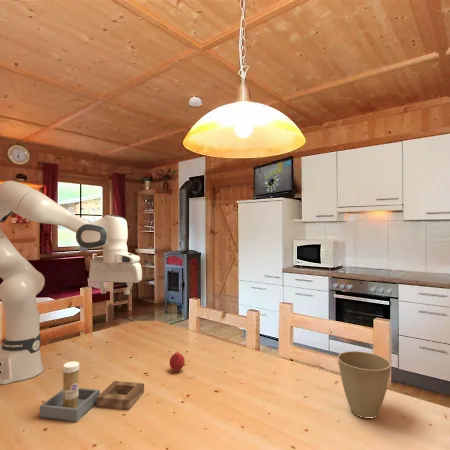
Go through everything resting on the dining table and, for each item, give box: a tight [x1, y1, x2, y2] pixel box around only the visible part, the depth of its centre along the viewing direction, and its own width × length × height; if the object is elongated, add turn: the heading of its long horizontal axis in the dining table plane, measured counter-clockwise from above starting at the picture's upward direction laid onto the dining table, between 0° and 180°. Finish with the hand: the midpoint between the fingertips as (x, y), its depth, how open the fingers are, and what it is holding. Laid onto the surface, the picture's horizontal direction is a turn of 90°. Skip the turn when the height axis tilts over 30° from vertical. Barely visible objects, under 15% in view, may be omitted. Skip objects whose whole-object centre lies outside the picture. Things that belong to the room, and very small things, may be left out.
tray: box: [39, 387, 101, 423], centre depth 100 cm, size 12×12×4 cm
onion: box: [169, 350, 186, 373], centre depth 127 cm, size 6×6×8 cm
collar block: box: [95, 380, 145, 411], centre depth 106 cm, size 11×11×3 cm
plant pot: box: [337, 350, 392, 417], centre depth 99 cm, size 15×15×16 cm
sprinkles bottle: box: [62, 360, 80, 408], centre depth 100 cm, size 5×5×13 cm
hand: (115, 293), depth 123 cm, fingers open, 8 cm apart
